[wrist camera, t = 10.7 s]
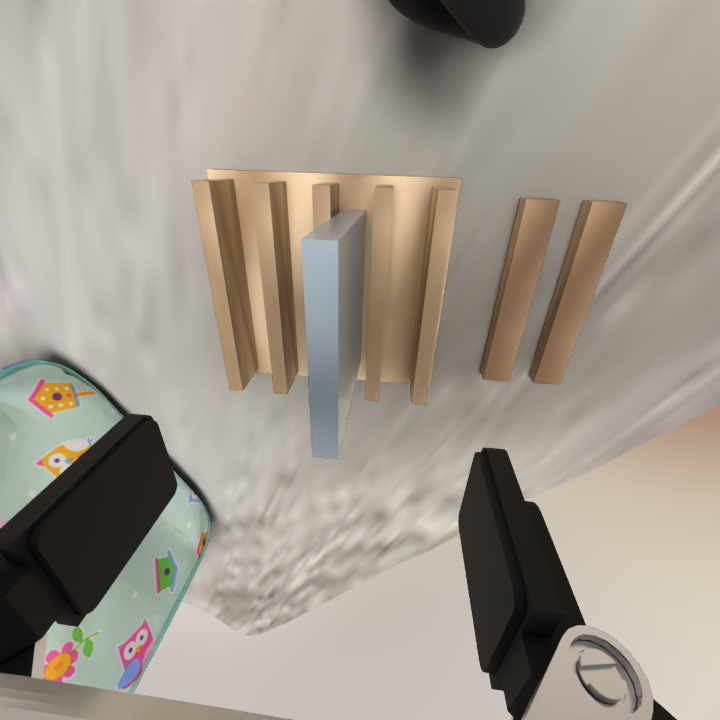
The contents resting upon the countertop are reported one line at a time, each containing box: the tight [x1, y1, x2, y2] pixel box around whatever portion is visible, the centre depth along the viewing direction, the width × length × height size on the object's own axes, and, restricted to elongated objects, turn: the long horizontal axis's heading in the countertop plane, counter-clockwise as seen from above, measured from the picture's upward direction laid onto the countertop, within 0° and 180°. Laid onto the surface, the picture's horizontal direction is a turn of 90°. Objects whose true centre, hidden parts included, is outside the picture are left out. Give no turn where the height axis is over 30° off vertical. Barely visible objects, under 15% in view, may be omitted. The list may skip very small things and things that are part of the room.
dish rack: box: [191, 169, 461, 405], centre depth 24 cm, size 16×15×4 cm
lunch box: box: [0, 360, 210, 693], centre depth 28 cm, size 27×10×21 cm, turn 26°
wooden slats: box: [480, 198, 627, 385], centre depth 25 cm, size 6×13×1 cm, turn 178°
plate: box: [301, 209, 366, 459], centre depth 20 cm, size 1×11×11 cm, turn 178°
